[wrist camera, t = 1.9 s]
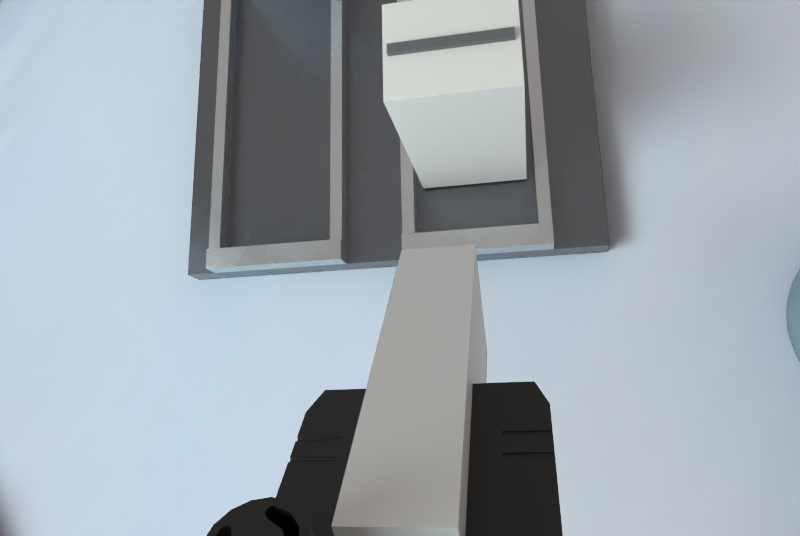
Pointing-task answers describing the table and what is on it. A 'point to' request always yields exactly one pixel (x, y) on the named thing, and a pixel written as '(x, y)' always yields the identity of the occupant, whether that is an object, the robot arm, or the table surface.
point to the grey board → (373, 147)
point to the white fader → (456, 88)
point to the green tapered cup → (794, 314)
